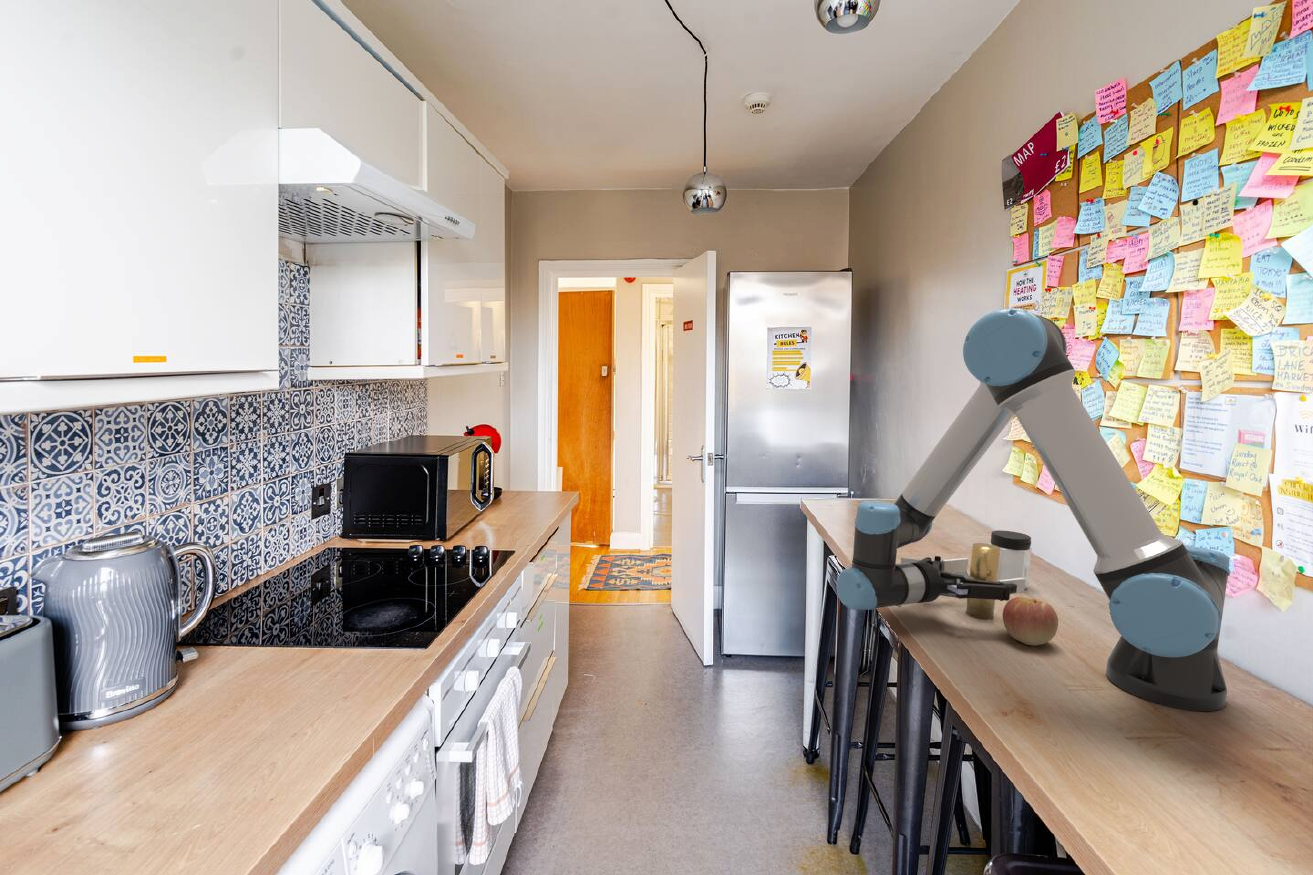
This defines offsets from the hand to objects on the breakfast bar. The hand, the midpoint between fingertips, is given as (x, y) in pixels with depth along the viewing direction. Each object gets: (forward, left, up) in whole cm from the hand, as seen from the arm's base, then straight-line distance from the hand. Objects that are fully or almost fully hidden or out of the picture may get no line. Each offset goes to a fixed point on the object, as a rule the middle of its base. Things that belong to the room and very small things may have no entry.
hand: (993, 574), depth 137 cm
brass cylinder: (-2, +2, -8) cm, 9 cm away
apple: (-14, -4, -8) cm, 17 cm away
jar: (+22, -7, -8) cm, 24 cm away
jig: (+16, +9, -8) cm, 20 cm away
